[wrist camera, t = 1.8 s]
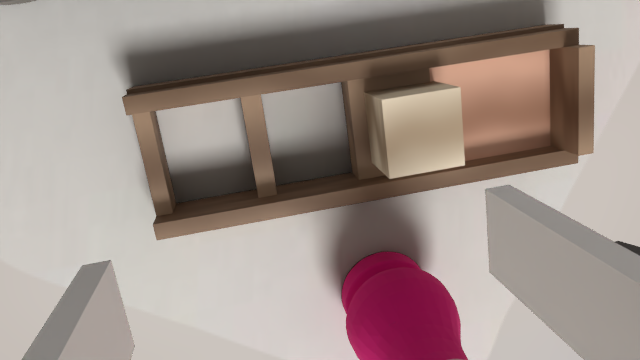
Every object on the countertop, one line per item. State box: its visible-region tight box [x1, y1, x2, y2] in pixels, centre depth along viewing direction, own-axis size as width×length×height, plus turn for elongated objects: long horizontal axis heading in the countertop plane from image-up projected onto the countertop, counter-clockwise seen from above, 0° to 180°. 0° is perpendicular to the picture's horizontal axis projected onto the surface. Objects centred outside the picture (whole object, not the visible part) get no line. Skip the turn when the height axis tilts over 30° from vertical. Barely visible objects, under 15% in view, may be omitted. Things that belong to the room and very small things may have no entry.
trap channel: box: [122, 24, 595, 240], centre depth 33 cm, size 9×27×5 cm, turn 98°
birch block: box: [364, 81, 465, 179], centre depth 31 cm, size 4×4×4 cm
